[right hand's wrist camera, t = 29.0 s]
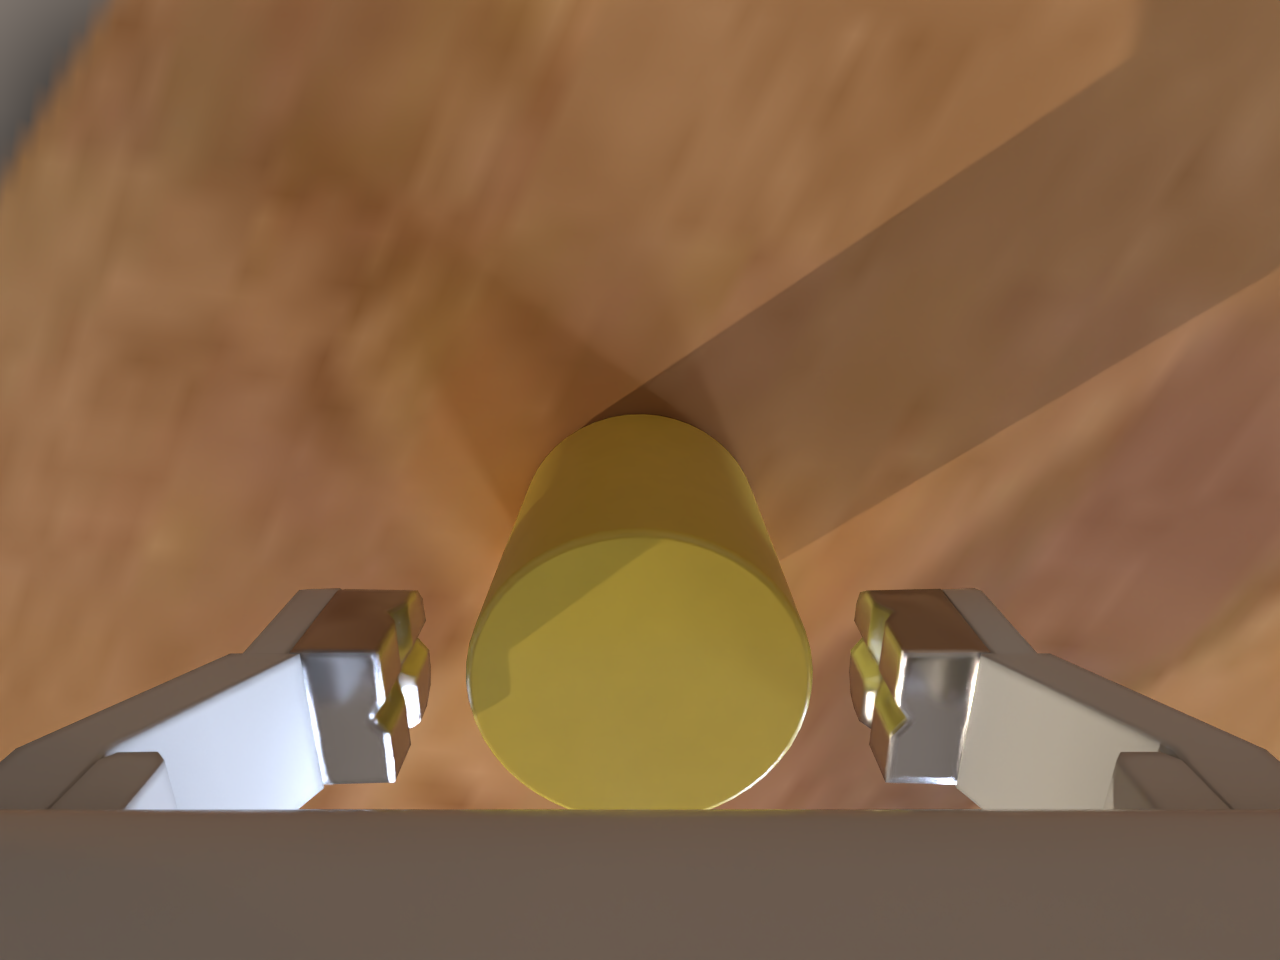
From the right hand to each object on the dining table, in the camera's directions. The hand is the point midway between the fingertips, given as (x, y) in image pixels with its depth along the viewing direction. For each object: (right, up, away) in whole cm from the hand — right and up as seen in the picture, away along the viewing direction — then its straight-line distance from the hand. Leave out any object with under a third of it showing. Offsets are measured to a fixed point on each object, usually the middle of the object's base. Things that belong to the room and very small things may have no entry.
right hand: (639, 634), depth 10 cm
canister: (0, +1, +3) cm, 3 cm away
